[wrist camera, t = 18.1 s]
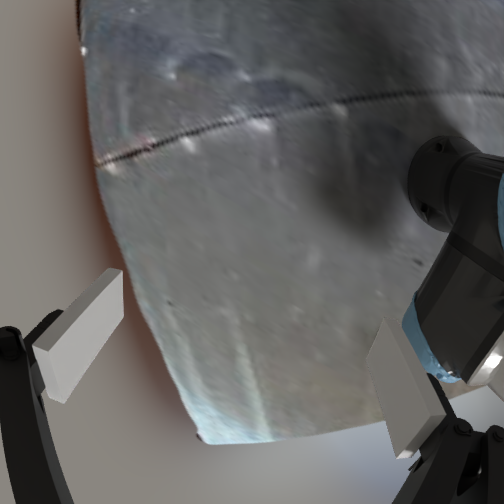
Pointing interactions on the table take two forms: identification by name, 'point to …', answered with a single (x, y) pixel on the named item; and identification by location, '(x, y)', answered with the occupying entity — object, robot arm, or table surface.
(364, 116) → the table surface
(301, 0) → the table surface
